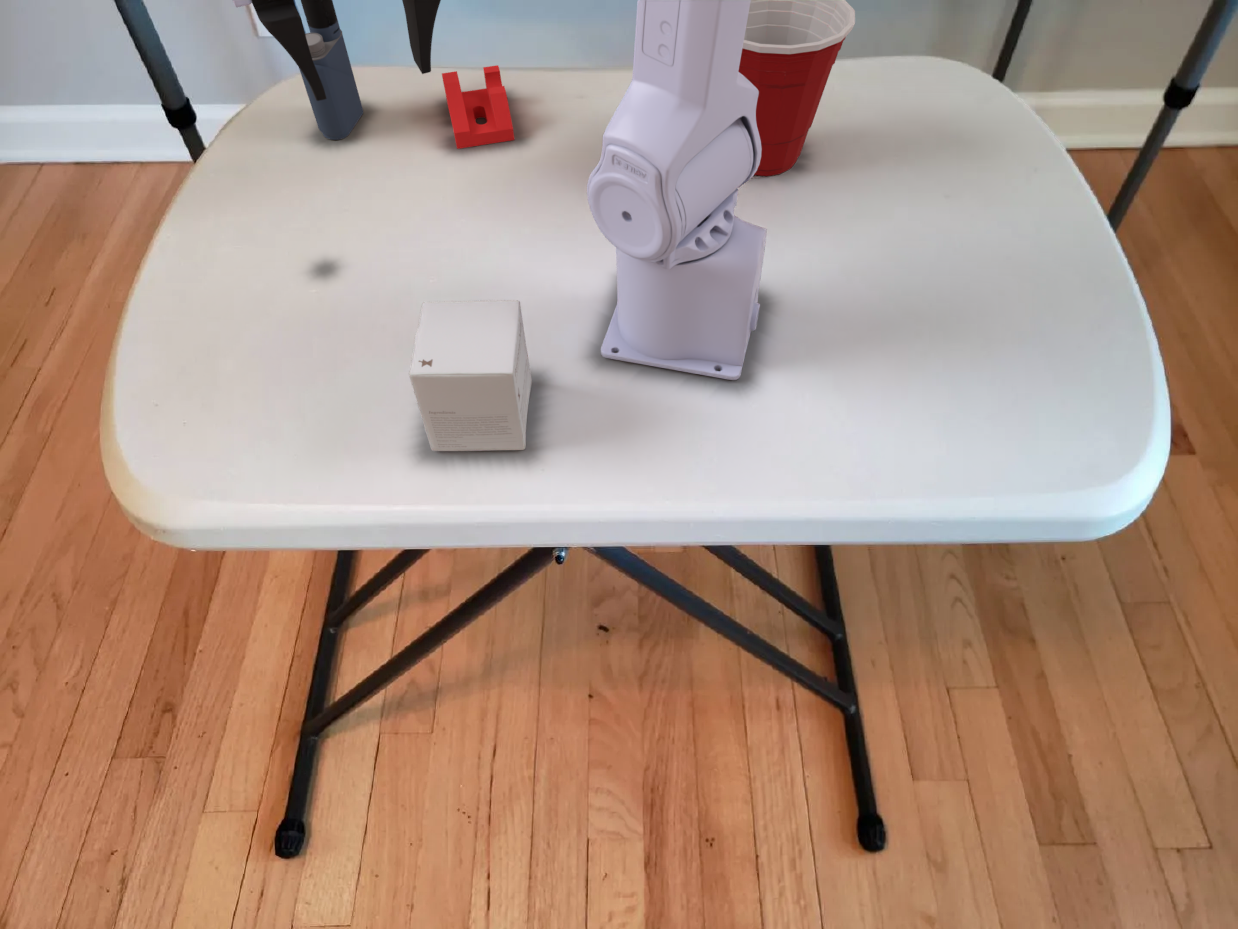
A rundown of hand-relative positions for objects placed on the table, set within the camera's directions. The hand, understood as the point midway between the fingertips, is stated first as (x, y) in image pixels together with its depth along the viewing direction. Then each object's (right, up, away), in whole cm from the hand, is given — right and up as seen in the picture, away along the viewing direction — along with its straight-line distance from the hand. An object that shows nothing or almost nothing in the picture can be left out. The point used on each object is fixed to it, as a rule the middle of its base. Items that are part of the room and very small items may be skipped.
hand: (371, 79), depth 65 cm
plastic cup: (+29, -2, +9) cm, 31 cm away
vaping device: (-6, +1, +13) cm, 14 cm away
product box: (+9, -25, -6) cm, 27 cm away
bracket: (+6, +1, +13) cm, 14 cm away
